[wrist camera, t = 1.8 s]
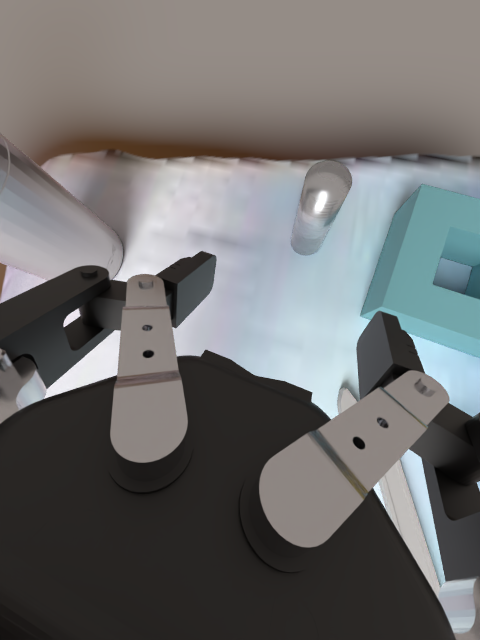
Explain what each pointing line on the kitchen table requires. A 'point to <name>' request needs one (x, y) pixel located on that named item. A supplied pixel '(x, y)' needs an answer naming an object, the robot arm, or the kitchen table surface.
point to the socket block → (431, 269)
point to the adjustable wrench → (400, 507)
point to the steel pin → (319, 205)
